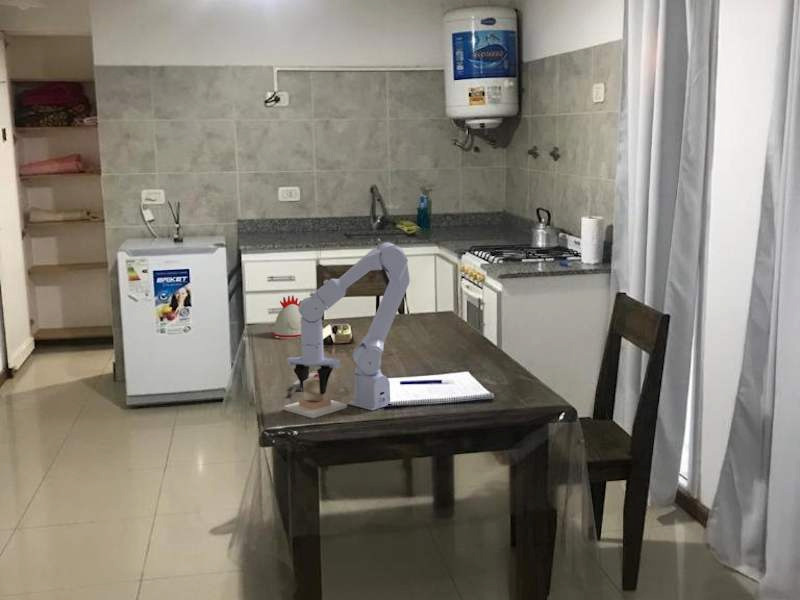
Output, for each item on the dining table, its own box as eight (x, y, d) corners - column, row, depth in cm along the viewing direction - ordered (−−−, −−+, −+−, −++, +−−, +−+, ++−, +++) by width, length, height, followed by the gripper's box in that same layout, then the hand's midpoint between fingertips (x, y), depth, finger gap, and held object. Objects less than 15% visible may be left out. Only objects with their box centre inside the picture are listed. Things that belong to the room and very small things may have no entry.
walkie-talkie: (300, 380, 280) (286, 399, 260) (299, 366, 279) (285, 384, 259) (329, 380, 279) (317, 399, 259) (328, 366, 278) (317, 384, 259)
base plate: (347, 407, 249) (346, 398, 248) (312, 418, 240) (312, 408, 240) (317, 399, 257) (317, 391, 257) (283, 409, 249) (283, 400, 248)
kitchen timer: (269, 334, 347) (267, 294, 344) (304, 330, 352) (302, 291, 350) (280, 341, 334) (278, 300, 332) (316, 337, 340) (314, 296, 337)
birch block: (325, 396, 250) (324, 378, 249) (319, 400, 245) (318, 382, 245) (310, 395, 251) (309, 377, 250) (303, 399, 247) (303, 381, 246)
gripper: (343, 340, 247) (345, 390, 249) (293, 338, 252) (295, 387, 254) (333, 346, 240) (335, 397, 243) (282, 344, 245) (284, 394, 247)
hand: (314, 392), depth 248 cm, fingers closed on birch block, 4 cm apart
